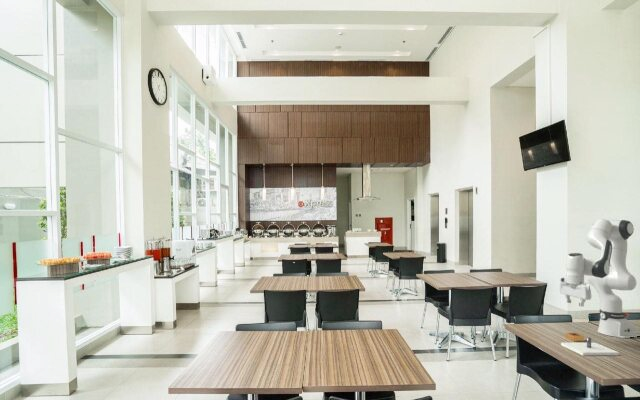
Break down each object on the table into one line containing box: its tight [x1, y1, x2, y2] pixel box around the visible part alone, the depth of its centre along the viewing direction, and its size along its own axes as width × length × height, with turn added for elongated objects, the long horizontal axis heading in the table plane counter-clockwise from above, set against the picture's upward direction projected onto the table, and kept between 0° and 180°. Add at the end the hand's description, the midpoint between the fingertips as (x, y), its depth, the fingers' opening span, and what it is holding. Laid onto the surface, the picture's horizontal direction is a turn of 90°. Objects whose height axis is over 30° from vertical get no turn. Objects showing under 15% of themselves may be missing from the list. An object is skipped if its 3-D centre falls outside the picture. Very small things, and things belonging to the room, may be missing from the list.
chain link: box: [565, 332, 585, 342], centre depth 226 cm, size 6×6×3 cm
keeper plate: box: [560, 337, 620, 357], centre depth 208 cm, size 20×16×6 cm
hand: (575, 304), depth 226 cm, fingers open, 8 cm apart
